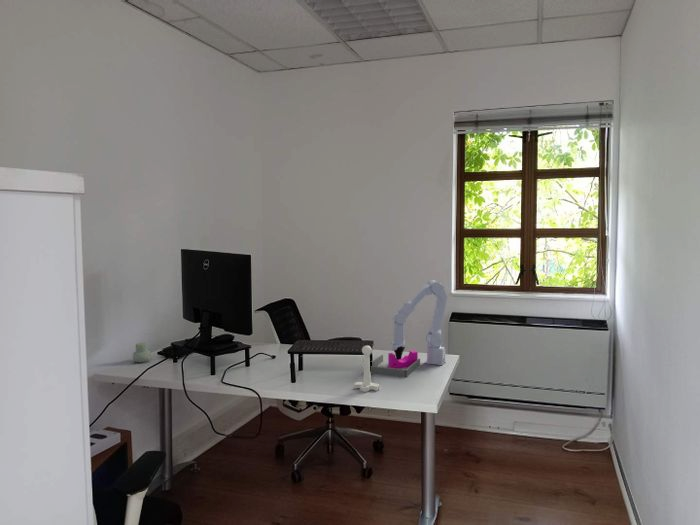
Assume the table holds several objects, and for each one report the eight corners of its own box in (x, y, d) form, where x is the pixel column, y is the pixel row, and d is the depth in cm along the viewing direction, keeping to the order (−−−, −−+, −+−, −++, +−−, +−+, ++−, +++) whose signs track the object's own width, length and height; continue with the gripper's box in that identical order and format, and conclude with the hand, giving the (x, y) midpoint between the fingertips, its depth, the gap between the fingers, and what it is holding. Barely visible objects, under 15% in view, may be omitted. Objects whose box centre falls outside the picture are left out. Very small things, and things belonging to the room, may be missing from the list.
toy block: (411, 363, 285) (412, 349, 284) (417, 366, 279) (417, 352, 278) (386, 366, 279) (386, 352, 279) (391, 369, 274) (391, 355, 273)
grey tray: (420, 365, 280) (420, 358, 280) (406, 377, 260) (406, 370, 259) (381, 361, 289) (381, 354, 289) (365, 372, 269) (365, 365, 268)
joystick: (380, 388, 244) (380, 345, 242) (375, 393, 236) (375, 349, 235) (357, 386, 247) (356, 343, 246) (351, 391, 240) (351, 347, 239)
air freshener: (148, 363, 290) (147, 345, 289) (132, 364, 288) (131, 346, 287) (151, 358, 300) (150, 340, 300) (135, 359, 299) (134, 341, 298)
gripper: (396, 331, 290) (396, 356, 291) (387, 337, 277) (386, 362, 278) (408, 333, 287) (408, 357, 288) (399, 338, 274) (399, 364, 275)
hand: (398, 360), depth 283 cm, fingers closed, pressing on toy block
